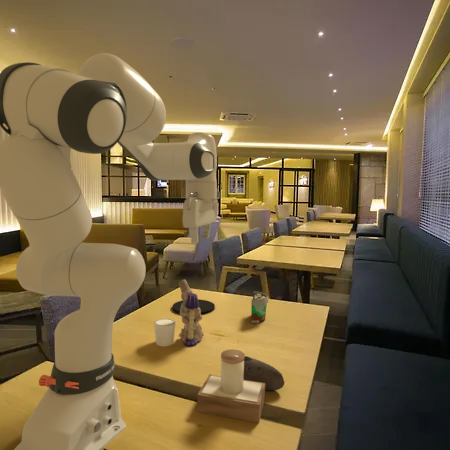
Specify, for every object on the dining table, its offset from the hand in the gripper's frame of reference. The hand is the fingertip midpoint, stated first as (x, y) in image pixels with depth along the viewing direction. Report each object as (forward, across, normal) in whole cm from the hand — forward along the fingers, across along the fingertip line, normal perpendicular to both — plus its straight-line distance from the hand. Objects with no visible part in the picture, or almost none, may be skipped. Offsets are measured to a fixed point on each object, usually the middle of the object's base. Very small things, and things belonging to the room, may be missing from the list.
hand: (200, 240), depth 101 cm
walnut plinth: (+35, -20, -15) cm, 43 cm away
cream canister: (+31, -20, -15) cm, 40 cm away
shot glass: (+36, +7, +14) cm, 39 cm away
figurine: (+35, +12, +7) cm, 38 cm away
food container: (+36, +36, -12) cm, 52 cm away
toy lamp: (+36, +8, +6) cm, 37 cm away
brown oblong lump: (+36, -10, -19) cm, 41 cm away
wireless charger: (+36, +41, +16) cm, 57 cm away
